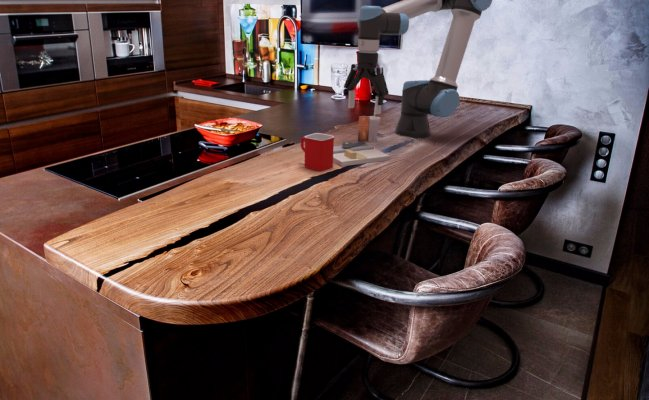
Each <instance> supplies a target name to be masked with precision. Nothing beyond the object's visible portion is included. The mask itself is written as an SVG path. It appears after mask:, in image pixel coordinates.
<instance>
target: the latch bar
mask: <svg viewBox="0 0 649 400" xmlns="http://www.w3.org/2000/svg"><path fill="white" fill-rule="evenodd" d="M369 122H370V117H369V115H368V116H367V115H360V116H358V131H357V132H358V133H357V134H358V135H357V140H354V141H349V140H348V141H347V140H345V141H342V143H341V146H342V147H343V148H351V147H353V146H358V145H362V144H365V143H367V142H369V141H368V139H369Z"/></svg>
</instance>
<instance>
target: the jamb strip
mask: <svg viewBox="0 0 649 400" xmlns="http://www.w3.org/2000/svg"><path fill="white" fill-rule="evenodd" d="M346 149H350V150H352V151H361V150H370V149H375V146H374V145H372V144H370V143H367V142H365V144H362V145H358V146H353V147H351V148H343V147H342V145H334V147H333V154H337V153H344V150H346Z"/></svg>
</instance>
